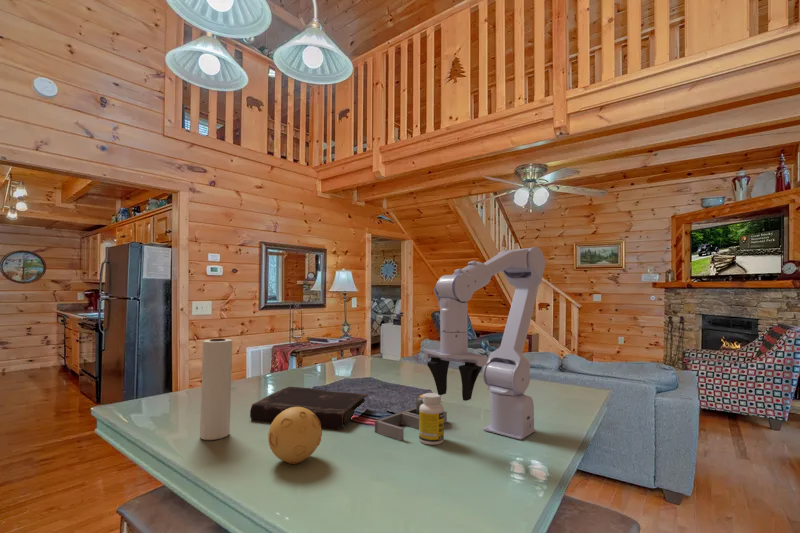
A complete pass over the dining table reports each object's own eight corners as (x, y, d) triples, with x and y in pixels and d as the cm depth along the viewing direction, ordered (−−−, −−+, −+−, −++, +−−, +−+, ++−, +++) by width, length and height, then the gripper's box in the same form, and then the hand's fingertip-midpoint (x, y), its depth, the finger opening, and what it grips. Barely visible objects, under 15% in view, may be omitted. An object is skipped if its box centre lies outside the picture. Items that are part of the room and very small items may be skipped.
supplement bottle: (442, 446, 83) (442, 398, 84) (417, 444, 84) (417, 397, 85) (445, 437, 89) (444, 392, 89) (421, 435, 90) (421, 391, 90)
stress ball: (274, 458, 79) (247, 439, 72) (302, 413, 85) (279, 391, 78) (311, 478, 74) (286, 459, 68) (338, 429, 80) (318, 406, 73)
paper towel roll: (223, 440, 86) (226, 341, 87) (194, 441, 86) (198, 341, 87) (235, 429, 93) (237, 337, 95) (208, 429, 93) (211, 337, 94)
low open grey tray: (446, 421, 99) (446, 395, 99) (401, 440, 86) (401, 410, 87) (395, 408, 110) (395, 384, 111) (348, 423, 98) (348, 396, 98)
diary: (341, 434, 92) (342, 412, 93) (249, 424, 99) (249, 403, 99) (369, 410, 110) (369, 391, 111) (289, 402, 117) (290, 385, 117)
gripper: (415, 330, 86) (415, 394, 85) (473, 335, 76) (474, 407, 75) (435, 328, 91) (435, 388, 90) (491, 332, 81) (492, 400, 81)
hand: (454, 396), depth 83 cm, fingers open, 6 cm apart
